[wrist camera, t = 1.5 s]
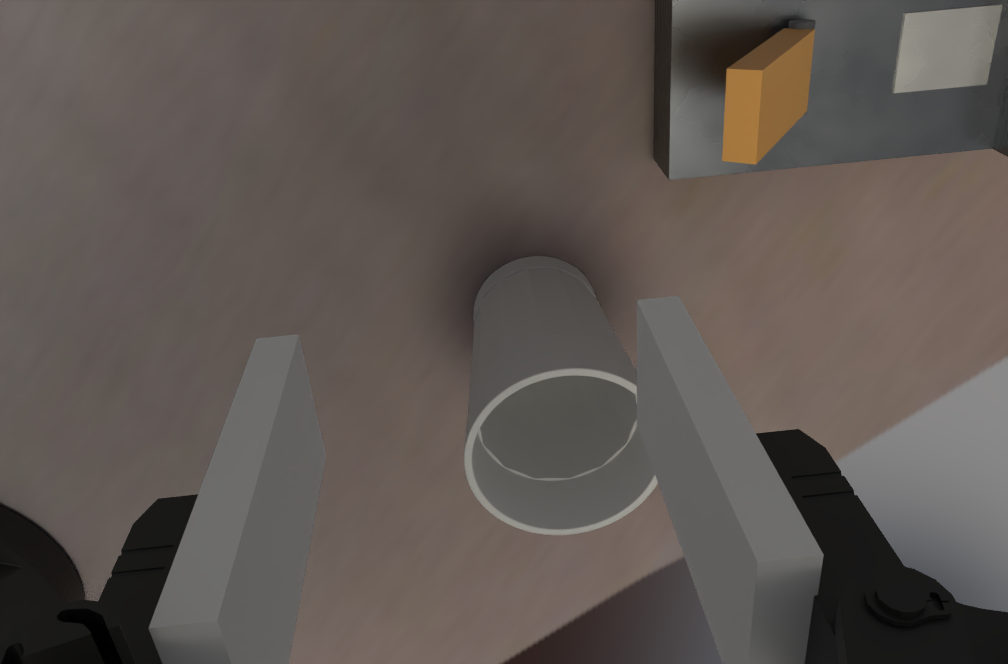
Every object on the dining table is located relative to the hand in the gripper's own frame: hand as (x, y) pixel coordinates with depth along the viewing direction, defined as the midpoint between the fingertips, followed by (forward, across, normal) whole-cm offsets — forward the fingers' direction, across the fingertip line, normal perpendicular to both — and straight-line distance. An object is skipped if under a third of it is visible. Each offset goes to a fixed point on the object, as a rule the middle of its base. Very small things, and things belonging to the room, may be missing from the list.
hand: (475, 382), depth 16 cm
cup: (+25, +3, -12) cm, 28 cm away
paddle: (+21, +14, 0) cm, 25 cm away
